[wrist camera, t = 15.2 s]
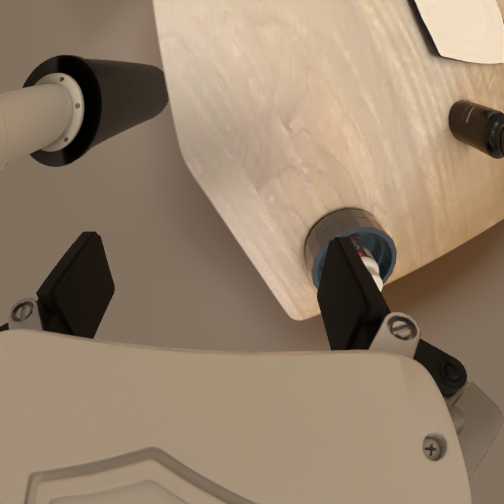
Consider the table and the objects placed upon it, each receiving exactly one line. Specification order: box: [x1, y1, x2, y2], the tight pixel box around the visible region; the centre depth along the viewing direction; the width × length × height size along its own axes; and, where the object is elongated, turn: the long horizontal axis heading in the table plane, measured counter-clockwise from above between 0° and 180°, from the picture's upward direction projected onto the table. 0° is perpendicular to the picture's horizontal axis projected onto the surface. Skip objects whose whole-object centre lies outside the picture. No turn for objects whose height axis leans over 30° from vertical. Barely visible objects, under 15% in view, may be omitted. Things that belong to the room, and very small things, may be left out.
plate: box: [413, 0, 504, 64], centre depth 18 cm, size 20×20×3 cm
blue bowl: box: [305, 209, 397, 290], centre depth 39 cm, size 13×13×6 cm
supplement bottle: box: [450, 101, 504, 159], centre depth 25 cm, size 7×7×12 cm
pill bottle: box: [345, 233, 383, 292], centre depth 37 cm, size 6×6×10 cm
